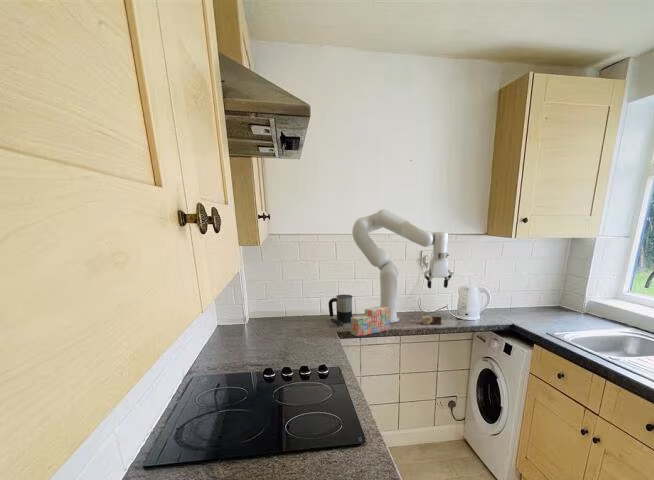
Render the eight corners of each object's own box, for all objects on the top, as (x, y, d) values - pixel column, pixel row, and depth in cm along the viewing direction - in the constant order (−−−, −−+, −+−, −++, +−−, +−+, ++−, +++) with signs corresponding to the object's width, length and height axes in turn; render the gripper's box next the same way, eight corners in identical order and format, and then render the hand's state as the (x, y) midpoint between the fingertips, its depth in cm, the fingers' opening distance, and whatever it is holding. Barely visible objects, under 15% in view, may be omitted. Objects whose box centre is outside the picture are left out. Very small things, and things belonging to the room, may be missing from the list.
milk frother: (351, 318, 244) (350, 293, 238) (356, 325, 230) (356, 299, 224) (327, 320, 240) (326, 295, 234) (331, 327, 226) (330, 300, 220)
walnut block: (433, 324, 232) (433, 316, 231) (432, 322, 237) (432, 315, 235) (440, 324, 233) (441, 316, 231) (439, 322, 237) (440, 315, 235)
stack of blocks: (358, 337, 209) (357, 313, 204) (351, 334, 214) (350, 311, 209) (389, 330, 222) (390, 307, 217) (382, 327, 226) (382, 305, 221)
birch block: (422, 324, 233) (423, 317, 231) (422, 322, 236) (422, 315, 235) (429, 324, 233) (430, 317, 231) (429, 322, 236) (429, 315, 235)
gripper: (451, 255, 228) (448, 286, 235) (422, 255, 223) (420, 287, 230) (457, 256, 221) (454, 288, 228) (427, 257, 217) (425, 289, 223)
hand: (437, 287), depth 229 cm, fingers open, 9 cm apart
